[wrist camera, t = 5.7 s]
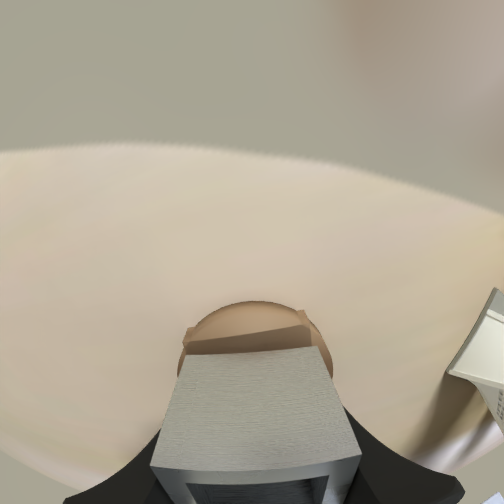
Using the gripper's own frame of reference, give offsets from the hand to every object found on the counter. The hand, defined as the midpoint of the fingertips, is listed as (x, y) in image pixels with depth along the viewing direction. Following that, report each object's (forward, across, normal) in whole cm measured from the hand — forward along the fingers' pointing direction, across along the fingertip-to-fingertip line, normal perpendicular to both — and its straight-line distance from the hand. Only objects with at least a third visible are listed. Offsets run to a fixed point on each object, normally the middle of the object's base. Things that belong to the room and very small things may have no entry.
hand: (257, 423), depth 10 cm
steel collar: (+2, 0, 0) cm, 2 cm away
